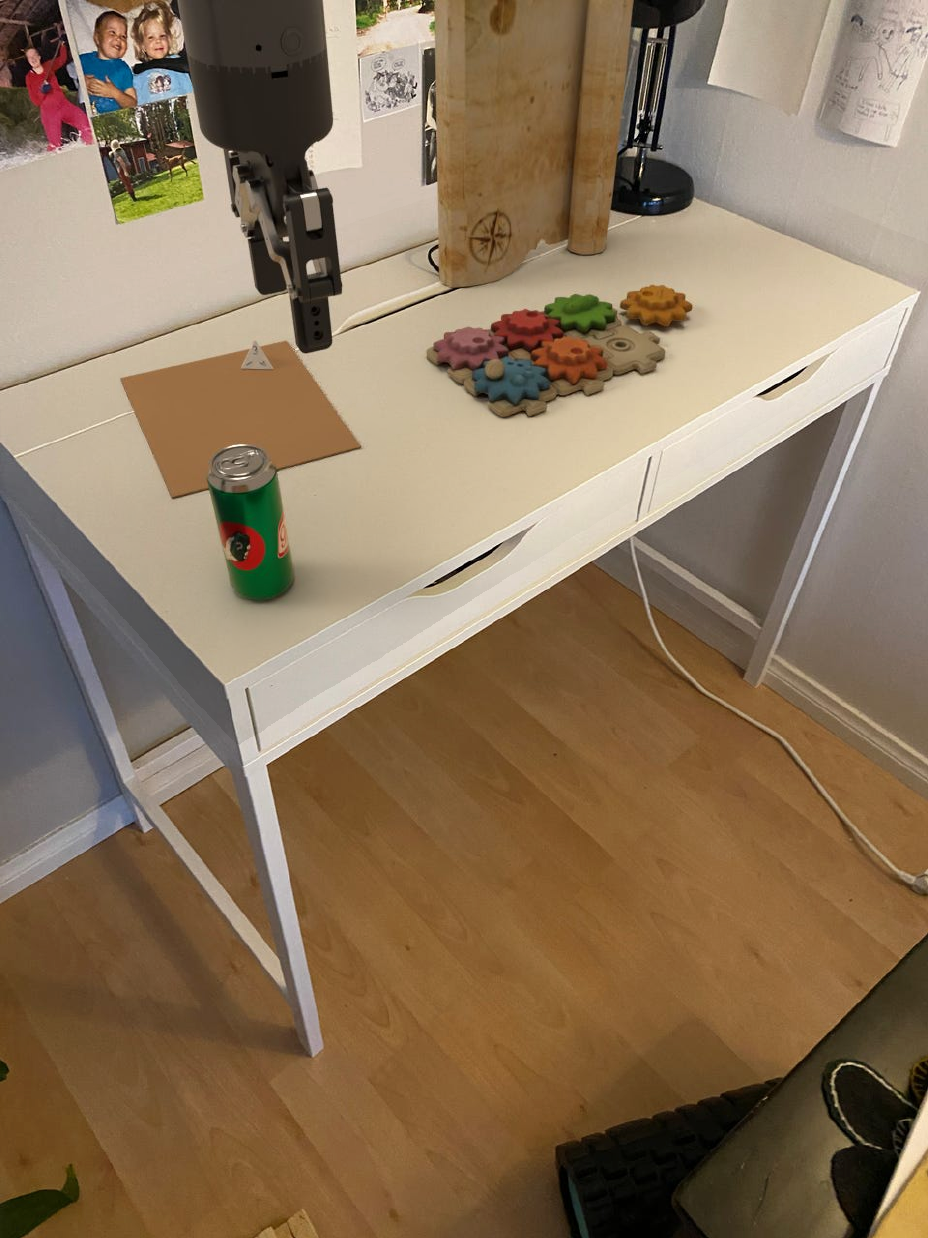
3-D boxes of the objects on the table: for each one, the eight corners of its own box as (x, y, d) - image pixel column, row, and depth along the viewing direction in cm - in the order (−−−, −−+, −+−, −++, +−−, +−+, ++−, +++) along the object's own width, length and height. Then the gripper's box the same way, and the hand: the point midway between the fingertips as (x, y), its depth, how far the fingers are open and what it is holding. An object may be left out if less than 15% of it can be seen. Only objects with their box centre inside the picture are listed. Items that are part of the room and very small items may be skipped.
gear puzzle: (641, 283, 114) (645, 250, 112) (737, 340, 105) (745, 305, 102) (419, 356, 102) (418, 321, 99) (505, 428, 93) (507, 391, 90)
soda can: (301, 594, 76) (282, 472, 68) (239, 610, 75) (211, 488, 66) (286, 555, 80) (265, 434, 71) (226, 570, 78) (197, 449, 70)
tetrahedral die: (261, 383, 100) (264, 362, 97) (240, 368, 100) (243, 346, 98) (282, 369, 102) (286, 347, 99) (262, 354, 102) (265, 332, 100)
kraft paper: (172, 498, 85) (171, 497, 85) (120, 379, 99) (120, 377, 99) (360, 447, 90) (360, 446, 90) (286, 341, 104) (286, 340, 104)
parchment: (449, 292, 113) (447, -5, 91) (427, 270, 117) (420, -19, 95) (616, 253, 120) (650, -29, 99) (590, 234, 124) (617, -42, 103)
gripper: (155, 15, 55) (208, 285, 66) (224, 87, 46) (271, 384, 57) (281, 1, 57) (310, 264, 69) (370, 67, 48) (387, 356, 60)
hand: (293, 318), depth 63 cm, fingers open, 8 cm apart
